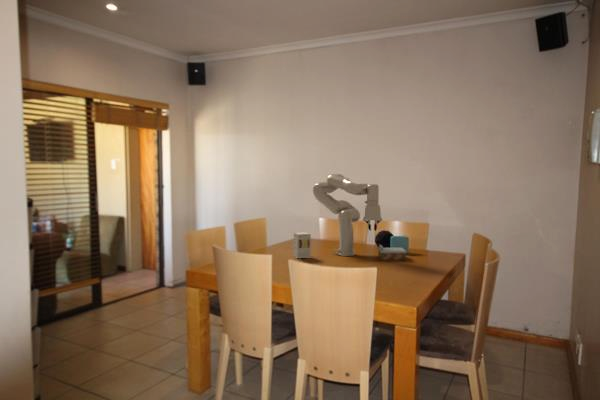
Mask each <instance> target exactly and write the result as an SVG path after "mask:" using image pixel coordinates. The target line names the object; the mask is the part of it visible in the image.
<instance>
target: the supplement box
mask: <svg viewBox="0 0 600 400" xmlns="http://www.w3.org/2000/svg"><path fill="white" fill-rule="evenodd" d="M311 235H312V234H311V233H309V232H307V231H303V232H302V231H301V232H293V257H294V258H295V257H296V258H295V259H297V258H299V259H298V260H301V259H300V258H309V259H311V251H312V250H311V245H312V243H311V238H312V237H311Z"/></svg>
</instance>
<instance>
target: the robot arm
mask: <svg viewBox="0 0 600 400" xmlns="http://www.w3.org/2000/svg"><path fill="white" fill-rule="evenodd" d="M338 189H340V190H343V191H345V192H346V193H348V194H351V195H354V196H366V200H364V204H366V205H365V210H364V216H363V218H362V221H363V222H365V223H366V224H368V225H367V227H368V231H369V232H371V230H372V224H371V221H374V224H373V230H374V231H377V230H378V224H380V223H381V222H382V221H383V218H382V216H381V215H382V214H381V213H382V212H381V205H380V204H379V190H380V188H379V185H378V184H376V183H355V182H351V179H350V178H348V177H345V176H344V175H343V174H339V173H336V174H330V175H328V176H327V177H326V181H324V182H323V181H322V182H321V181H319V182H317V183H315V184H314V185H313V188H312V193H313V195H314V198H315V199H316V200H317V202H319V203H320V204H322V205H323V206H324V207H325V208H326V209H327V210H328V211H330V212H331V213H333V214H334V215H338V216H337V217H338V219H337V220H338V224H339V247H338V248H333V249H332V252H335V253H337V255H338V256H340V257H341V256H343V257H352V256H353V257H354V256H356V252H355V251H354V226H353V223H355V222H358V221H359V220H360V218H361V214H360V211H359V210H358V208H356V207H355V206H353V205H352V203H350V202H348V201H347V200H343V199H341V200H338V199H336V198H334V197H333V196H332V195H330V194H331V193H334V192H335V191H336V190H338Z"/></svg>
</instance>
